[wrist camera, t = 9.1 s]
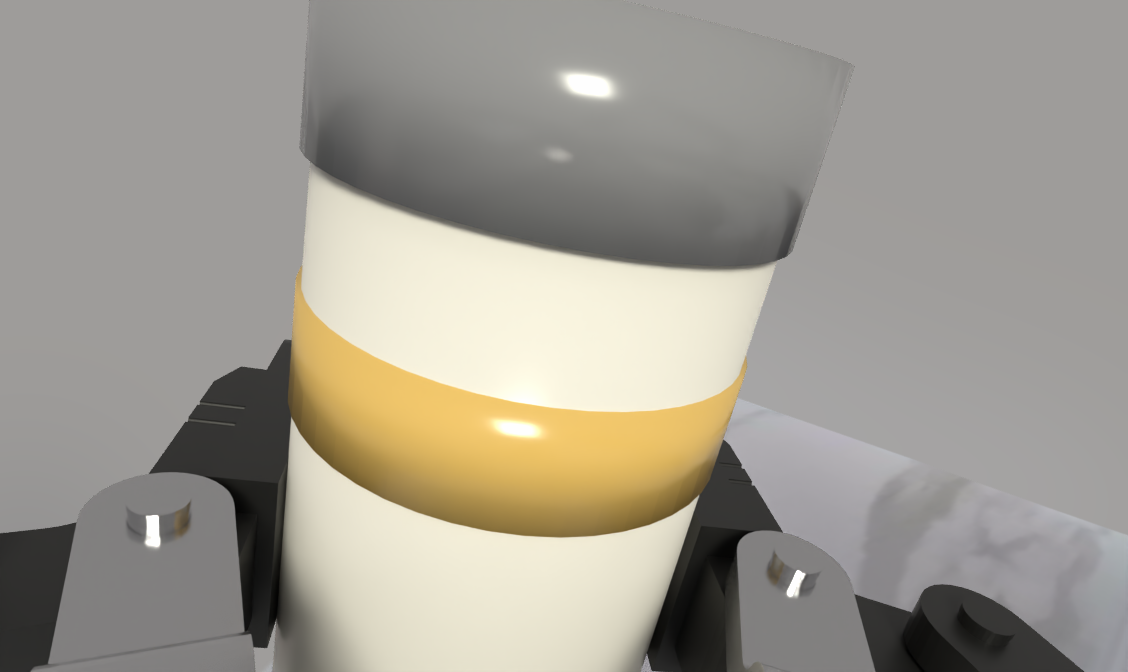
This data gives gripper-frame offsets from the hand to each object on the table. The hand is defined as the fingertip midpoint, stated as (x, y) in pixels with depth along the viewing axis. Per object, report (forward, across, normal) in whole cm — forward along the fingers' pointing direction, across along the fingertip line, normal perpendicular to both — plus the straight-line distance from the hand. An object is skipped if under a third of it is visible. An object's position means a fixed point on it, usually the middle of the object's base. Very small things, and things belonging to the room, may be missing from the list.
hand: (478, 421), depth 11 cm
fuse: (-3, 0, +8) cm, 8 cm away
